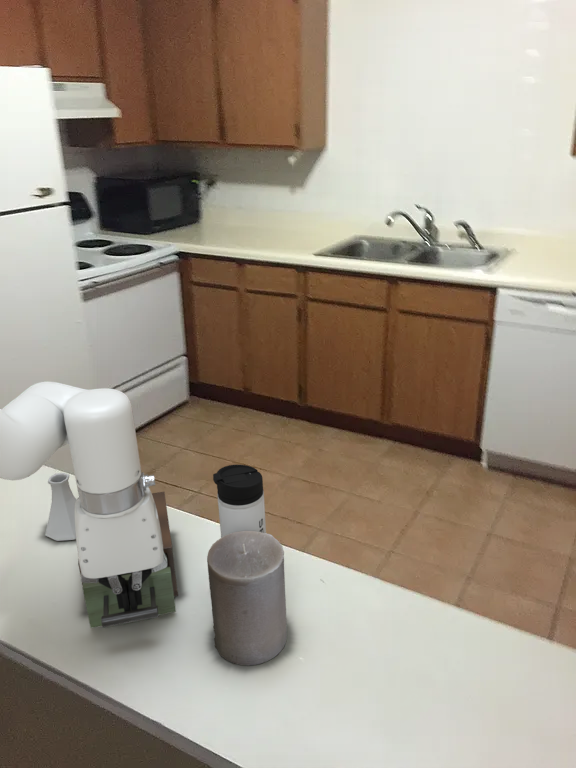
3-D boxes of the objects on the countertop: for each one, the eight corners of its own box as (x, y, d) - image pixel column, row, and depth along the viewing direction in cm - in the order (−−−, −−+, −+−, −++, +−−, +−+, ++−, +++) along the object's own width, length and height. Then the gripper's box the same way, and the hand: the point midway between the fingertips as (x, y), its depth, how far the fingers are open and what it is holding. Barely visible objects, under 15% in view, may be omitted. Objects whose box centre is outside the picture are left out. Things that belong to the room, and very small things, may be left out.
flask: (37, 539, 109) (25, 487, 105) (61, 514, 116) (50, 464, 112) (77, 544, 108) (66, 492, 104) (98, 518, 114) (89, 468, 110)
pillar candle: (199, 648, 87) (189, 555, 81) (241, 602, 94) (234, 513, 88) (262, 677, 82) (256, 581, 76) (301, 626, 90) (298, 534, 84)
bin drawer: (179, 639, 87) (174, 598, 84) (89, 657, 85) (81, 616, 82) (168, 551, 104) (163, 515, 101) (92, 565, 102) (85, 528, 99)
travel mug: (218, 583, 98) (207, 465, 90) (261, 571, 100) (254, 455, 92) (230, 611, 93) (219, 489, 85) (275, 598, 95) (269, 478, 87)
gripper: (171, 465, 85) (185, 579, 92) (48, 484, 82) (73, 601, 89) (177, 496, 78) (192, 617, 85) (43, 518, 75) (70, 642, 82)
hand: (131, 609), depth 87 cm, fingers closed
